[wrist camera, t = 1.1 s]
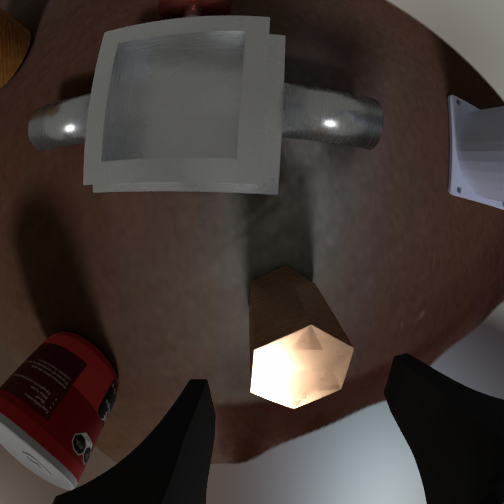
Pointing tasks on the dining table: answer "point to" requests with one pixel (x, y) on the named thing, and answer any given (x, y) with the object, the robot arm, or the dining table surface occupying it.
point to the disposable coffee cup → (11, 46)
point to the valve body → (197, 106)
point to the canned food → (57, 407)
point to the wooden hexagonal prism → (294, 340)
